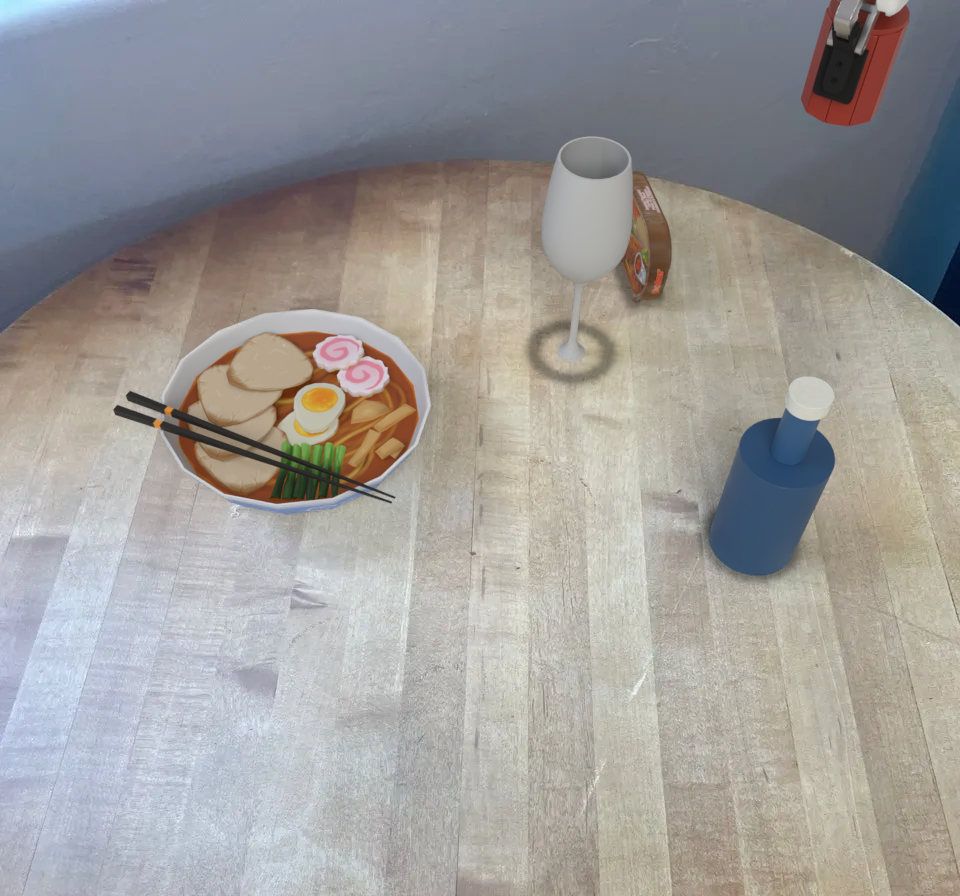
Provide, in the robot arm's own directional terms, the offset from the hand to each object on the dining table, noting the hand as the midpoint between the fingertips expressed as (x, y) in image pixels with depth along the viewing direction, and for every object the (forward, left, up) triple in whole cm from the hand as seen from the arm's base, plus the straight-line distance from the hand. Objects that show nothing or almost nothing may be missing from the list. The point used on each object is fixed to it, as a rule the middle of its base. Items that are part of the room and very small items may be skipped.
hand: (849, 74), depth 80 cm
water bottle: (-10, +28, -24) cm, 38 cm away
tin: (+15, +1, -25) cm, 29 cm away
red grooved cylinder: (0, 0, -2) cm, 2 cm away
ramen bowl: (+28, +40, -25) cm, 55 cm away
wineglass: (+14, +16, -25) cm, 33 cm away
